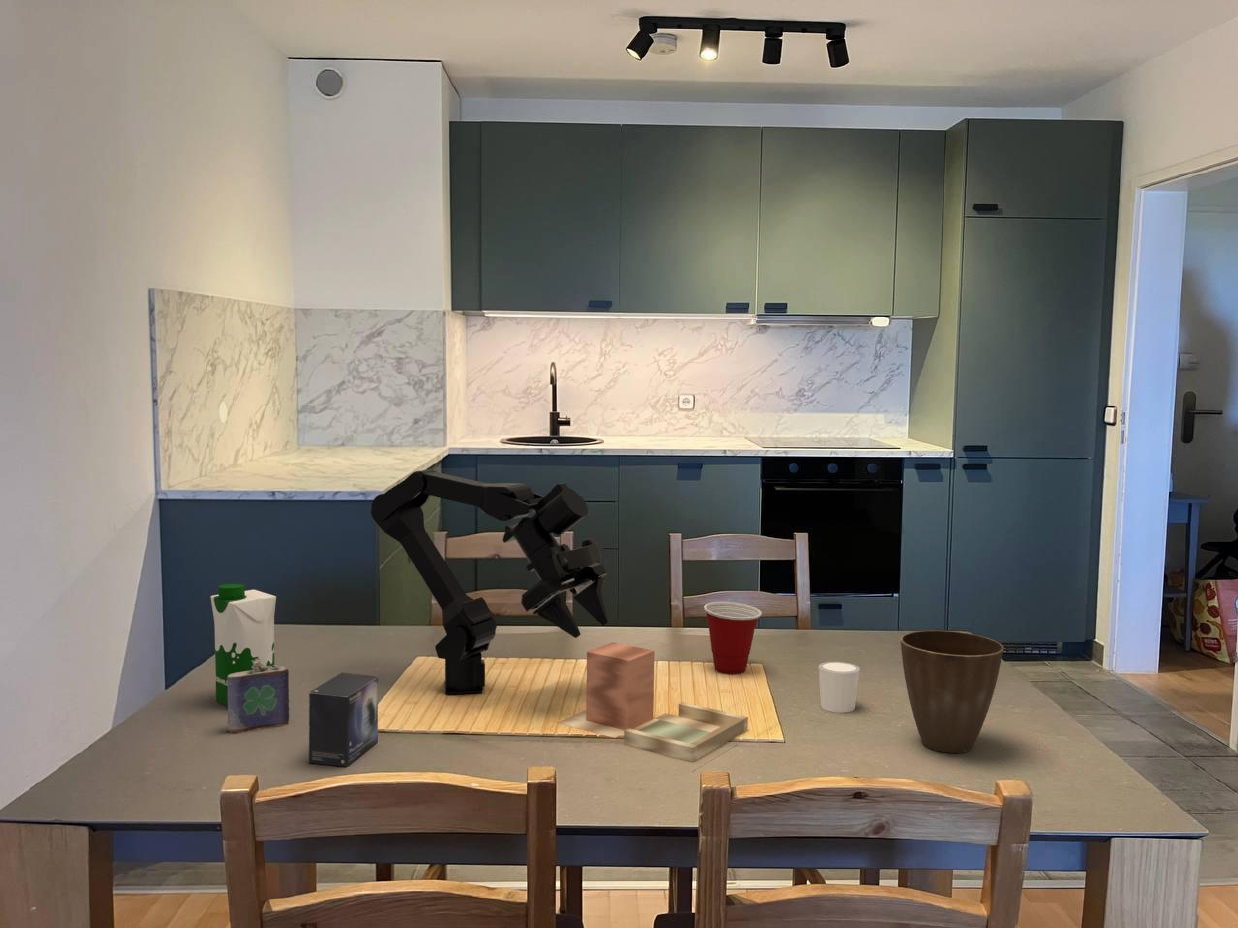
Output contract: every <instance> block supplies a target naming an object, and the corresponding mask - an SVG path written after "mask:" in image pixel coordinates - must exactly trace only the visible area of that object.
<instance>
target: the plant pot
mask: <svg viewBox="0 0 1238 928" xmlns="http://www.w3.org/2000/svg"><path fill="white" fill-rule="evenodd" d="M900 646H901V648H900V650H901V657H902V667H903V672H904V680H905V684H906V690H907V696H908V699H909V704H910V707H911V712H912V714H913V719H914V721H915V722H914V723H915V726H916V728H917V732H918V735H919V738H920V740H921V743H922V745H923V746H925V747H926V748H928V749H931V750H933V751H938V752H943V753H948V754H950V753H951V754H957V753H958V754H960V753H966V752H970V750H972V749H973V747H974V745H975V743H976V741H977V739H978V736H979V734H980V732H981V730H982V727H983V725H984V722H985V720H986V717H987V714H988V711H989V709H990V705H991V703H992V699H993V696H994V693H995V689H996V685H997V683H998V682H997V681H998V678H999V673H1000V669H1001V665H1002V664H1001V663H1002V659H1003V654H1004V649H1005V647H1004V645H1002V643H1000V642H998V641H996V640H994V639H992V638H988V637H985V636H981V635H977V634H975V633H973V634H972V633H969V632H968V633H967V632H960V631H952V630H951V631H949V630H919V631H912V632H908V633H905V634H903V635H902V636H901V637H900Z"/></svg>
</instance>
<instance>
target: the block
mask: <svg viewBox="0 0 1238 928" xmlns="http://www.w3.org/2000/svg"><path fill="white" fill-rule="evenodd" d="M655 654H656V653H655V650H652V649H648V648H642V647H637V646H633V645H628V644H622V643H617V642H609V643H608V644H605V645H601V646H600V647H597V648H593V649H591V650H587V651H586V691H585V692H586V698H585V699H586V702H585V703H586V704H585V705H586V706H585V710H586V721H590V722H594V723H598V724H602V725H606V726H610V727H613V728H617V729H621V730H627V729H629V728H630V729H634V728H636V727H638V726H640V725H642V724H644V723H646V722H648V721H650V720H652V719H653V718H654V712H655V711H654V706H655V705H654V701H655V700H654V699H655V698H654V697H655Z"/></svg>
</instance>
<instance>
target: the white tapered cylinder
mask: <svg viewBox="0 0 1238 928" xmlns="http://www.w3.org/2000/svg"><path fill="white" fill-rule="evenodd" d="M860 670H861V667H860V666H858V665H856V664H853V663H849V662H844V661H843V662H842V661H826V662H822V663H819V665H818V677H819V679H818V680H819V691H820V692H819V695H820V707H821V708H822V709H823V710H825V711H828V712H831V713H840V714H842V713H850V712H854V711H855V709H856V702H857V701H856V700H857V693H858V686H859V678H860Z"/></svg>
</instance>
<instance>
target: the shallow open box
mask: <svg viewBox="0 0 1238 928" xmlns="http://www.w3.org/2000/svg"><path fill="white" fill-rule="evenodd" d="M748 723H749V717H748V716H744V715H740V714H737V713H732V712H727V711H723V710H719V709H715V708H710V707H705V706H703V705H702V706H701V705H696V704H693V703H688V702H684V701H683V702H680V703H678V715H674V714H672V713H671V714H670V713H666V712H664V713H662V714H661V715H658V716H657V717H655V718H654V717H653V719H652V720H650V721H648V722H646V723H644V724H642V725H640V726H638V727H636V728H634V729H630V728H629V729H627V730H621V729H617V728H613V727H610V726H606V725H602V724H598V723H594V722H590V721H586V709H584V710H582V711H581V712H578V713H576V714H574V715H572V716H569V717H567V718H564V719H563V720H560V721H557V723H556V724H561V725H564V726H567V727H571V728H575V729H579V730H583V731H586V732H587V731H588V732H590V733H593V734H599V735H601V736H606V737H609V738H613V739H616V738H619V737H620V736H622V735H623V736H624V737H623V739H624V740H623V745H627V746H630V747H634V748H638V749H641V750H646V751H650V752H653V753H657V754H660V755H664V756H668V757H672V758H675V759H679V760H683V761H687V762H690V763H693V762H695V761H697V760H698V759H701V758H702V757H704V756H706V755H707V754H709V753H710V752H713V751H714V750H715V749H718V748H719V747H721V746H722V745H724V744H726V743H727V742H729V741H731V740H733V739H735V738H736V737H738V736H739V735H742V734H743V733H745V732H747V731H748V730H749V729H748V728H749V727H748V726H749V725H748ZM736 746H738V744H736V745H735V747H736ZM732 749H733V747H731V748H730V750H732ZM727 752H728V750H727V751H725V753H727ZM721 755H723V753H722V754H720V756H721ZM717 758H718V756H716V757H715V759H717ZM712 761H713V759H711V760H710V761H709V760H708V762H707V763H704V764H703V765H701V766H699V768H701V767H703V766H705V765H706V764H708V763H709V762H712ZM699 768H698V769H699ZM695 771H696V769H694V770H693V772H695Z"/></svg>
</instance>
